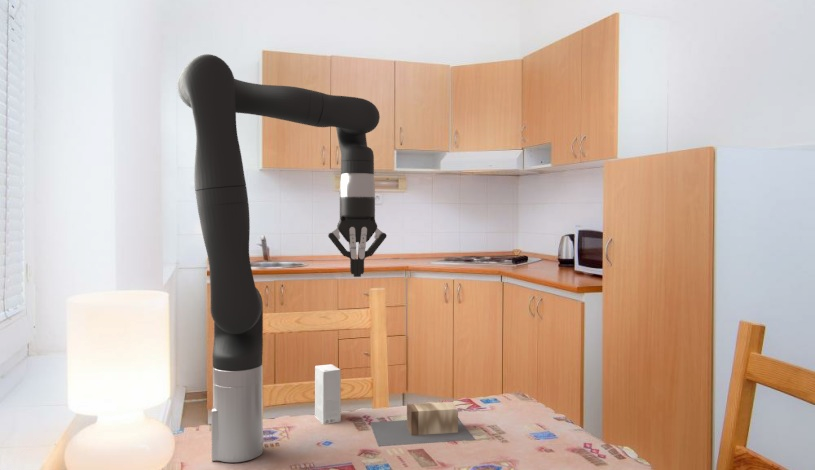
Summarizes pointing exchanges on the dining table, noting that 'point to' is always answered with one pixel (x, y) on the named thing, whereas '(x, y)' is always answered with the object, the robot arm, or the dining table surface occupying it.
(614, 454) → the dining table surface
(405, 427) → the mat
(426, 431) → the birch block
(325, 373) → the skincare box
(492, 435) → the dining table surface
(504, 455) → the dining table surface
